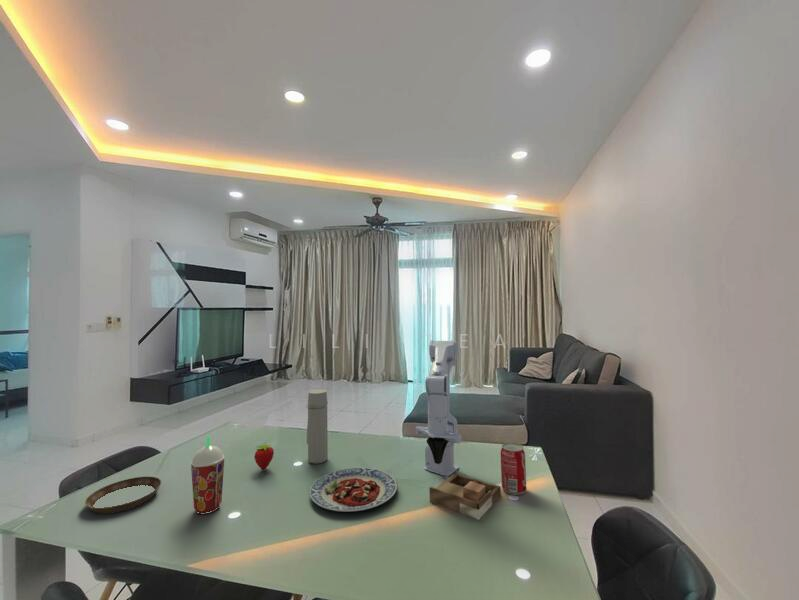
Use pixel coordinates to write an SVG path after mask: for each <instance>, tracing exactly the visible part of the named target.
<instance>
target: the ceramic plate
mask: <svg viewBox="0 0 799 600" xmlns="http://www.w3.org/2000/svg"><path fill="white" fill-rule="evenodd" d="M397 489H398V484H397V481H396V479H395V478H394V476H392V475H391V474H389V473H387V472H386V471H383V470H380V469H377V468H372V467H371V468H370V467H349V468H348V467H347V468H343V469H338V470H334V471H332V472H329V473H327V474H325V475H323V476H321V477H319V478H318V479H316V481H314V483H312V485H311V487H310V489H309V496H310V497H309V498H310V499H311V500H312V502H314V503H315V504H316V505H317V506H319V507H321V508H324V509H325V510H330V511H334V512H343V513H344V512H345V513H346V512H348V513H349V512H350V513H351V512H358V511H359V512H360V511H365V510H369V509H374V508H376V507H378V506H380V505H383V504H385V503H386V502H387V501H389V500H390V499H392V498H393V497H394V495H395V494H396V493H397Z"/></svg>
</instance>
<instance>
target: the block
mask: <svg viewBox="0 0 799 600" xmlns="http://www.w3.org/2000/svg"><path fill="white" fill-rule="evenodd" d="M484 496H485V485H482V484H478V483H475V482H472V481H470V482H469V483H468V484H467V485H465V486H464V487H463V498H466V499H469V500H472V501H475V502H477V503H478V502H479V501H480V500H481V499H482V498H483V497H484Z"/></svg>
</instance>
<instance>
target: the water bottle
mask: <svg viewBox="0 0 799 600" xmlns="http://www.w3.org/2000/svg"><path fill="white" fill-rule="evenodd" d="M328 404H329V402H328V394H327V390H326V389H312V390H309V391H308V397H307V404H306V405H305V408H307V425H306V426H307V427H306V445H307V460H308V462H309V463H310V464H314V465H315V464H323V463H324V462H326V461H327V460H328V458H329V456H328V452H329V451H328V449H329V448H328V445H329V443H328V441H329V439H328V433H329V432H328Z"/></svg>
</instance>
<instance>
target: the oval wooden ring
mask: <svg viewBox="0 0 799 600" xmlns="http://www.w3.org/2000/svg"><path fill="white" fill-rule="evenodd" d="M138 485H139V486H140V485H145V486H146V485H148V486H152V487H153V488H154V489H155V490H154V491H153V492H151V493H150V494H148V495H146V496H144V497H142V498H140V499H137V500H135V501H132V502H129V503H125V504H122V505H117V506H112V507H104V508H95V507H93V505H94V504H95V502H96V501H97V500H98V499H100V498H101V497H103V496H105V495H106V494H108V493H111V492H114V491H116V490H119V489H123V488H127V487H132V486H138ZM161 486H162V480H161V479H160V478H159V477H156V476H139V477H138V476H137V477H131V478H126V479H123V480H119V481H116V482H113V483H111V484H109V485H108V484H107V485H106V486H103V487H102V488H101V487H100V489H97V490H96V491H94V492H93V493H91V494H90V495H89V496H88V497H86V499H85V501H84V505H85V506H86V507H87V509H89V510H90V511H92V512H94V513H95V514H100V513H110V514H113V513H112V512H117V513H119V512H118V511H121V512H123V511H122V510H125V511H127V510H126V509H128V510H130V509H129V508H131V509H133V508H132V507H134V506H136V507H138V506H137V505H139V504H141V503H143V502H144V503H146V502H147V500H148V499H149V500H150V499H152V498H153V497H154V496H155V494H157V491H159V488H160V487H161ZM149 500H148V501H149ZM145 501H146V502H145ZM144 503H143V504H144ZM141 505H142V504H141ZM139 506H140V505H139ZM134 508H135V507H134Z"/></svg>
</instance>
